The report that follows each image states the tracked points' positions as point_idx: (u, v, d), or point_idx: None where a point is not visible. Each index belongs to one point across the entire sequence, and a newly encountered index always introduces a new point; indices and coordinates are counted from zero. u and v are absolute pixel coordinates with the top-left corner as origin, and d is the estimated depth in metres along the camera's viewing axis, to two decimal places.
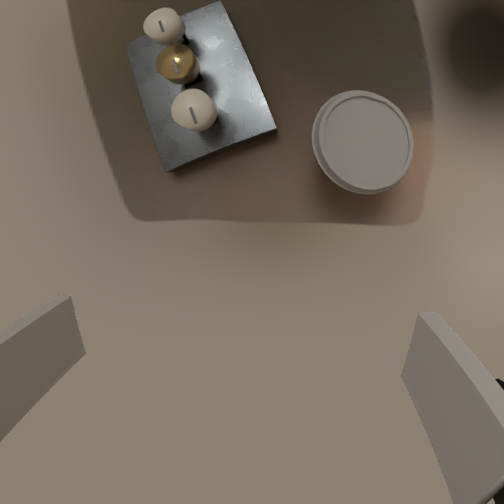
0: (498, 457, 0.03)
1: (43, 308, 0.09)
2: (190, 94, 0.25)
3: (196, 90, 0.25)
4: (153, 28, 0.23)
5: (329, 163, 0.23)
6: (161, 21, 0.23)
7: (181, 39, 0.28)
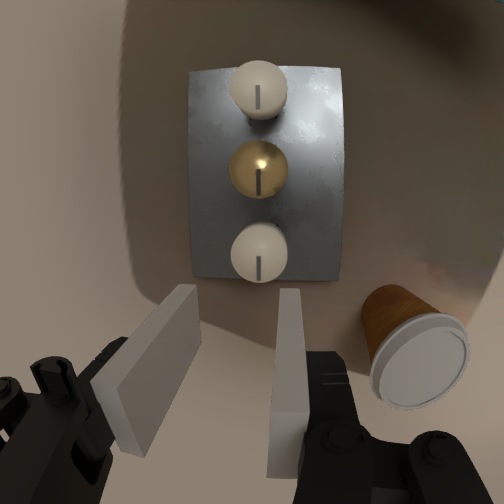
0: None
1: (174, 297, 0.10)
2: (265, 237, 0.20)
3: (275, 235, 0.20)
4: (244, 93, 0.18)
5: (381, 386, 0.19)
6: (259, 87, 0.18)
7: None
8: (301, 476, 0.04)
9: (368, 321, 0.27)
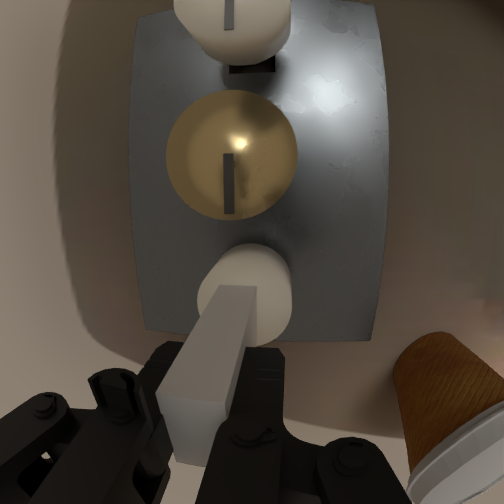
0: None
1: (220, 298, 0.10)
2: (253, 277, 0.12)
3: (271, 274, 0.12)
4: (203, 6, 0.07)
5: (422, 502, 0.09)
6: None
7: None
8: (207, 467, 0.04)
9: (407, 393, 0.16)
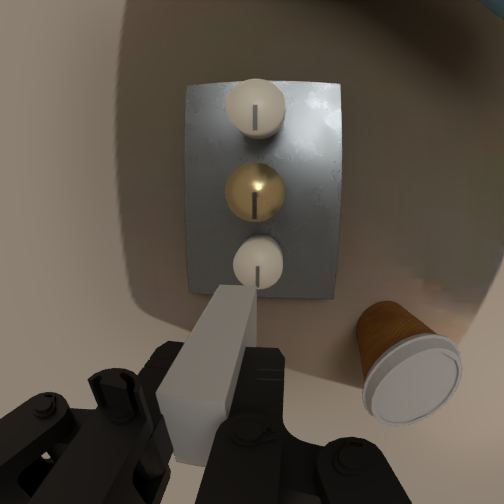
0: None
1: (220, 298, 0.10)
2: (263, 250, 0.23)
3: (272, 248, 0.23)
4: (241, 113, 0.18)
5: (373, 405, 0.19)
6: (257, 107, 0.18)
7: None
8: (206, 467, 0.04)
9: (362, 338, 0.27)
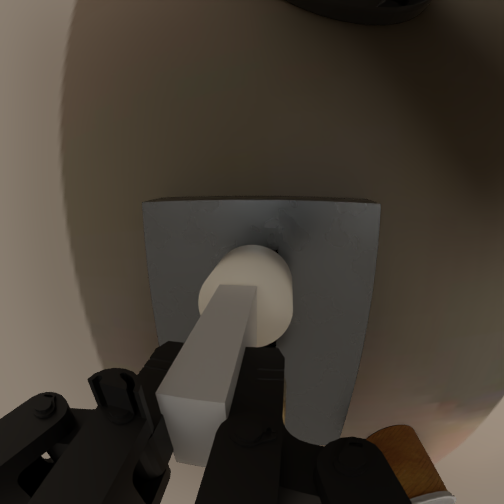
0: None
1: (220, 298, 0.10)
2: None
3: None
4: None
5: None
6: None
7: None
8: (207, 467, 0.04)
9: None
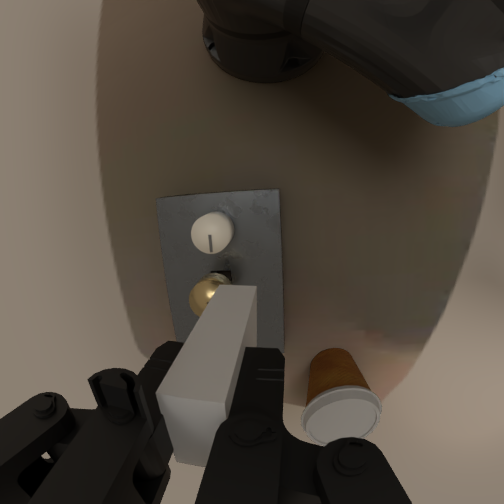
0: None
1: (220, 298, 0.10)
2: None
3: None
4: (201, 240, 0.30)
5: (307, 432, 0.28)
6: (211, 236, 0.29)
7: None
8: (207, 467, 0.04)
9: (309, 380, 0.35)
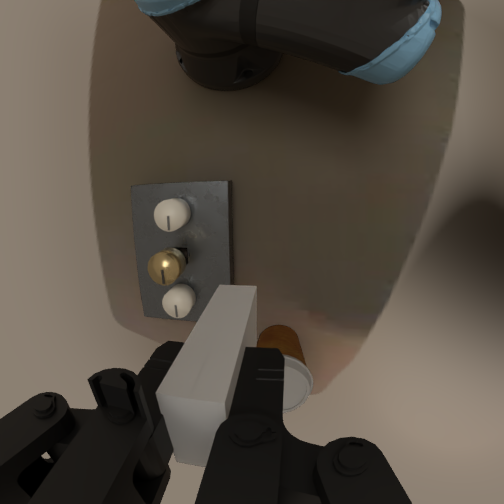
0: None
1: (220, 298, 0.10)
2: (177, 296, 0.38)
3: (182, 295, 0.38)
4: (162, 220, 0.36)
5: None
6: (169, 217, 0.35)
7: None
8: (206, 467, 0.04)
9: None
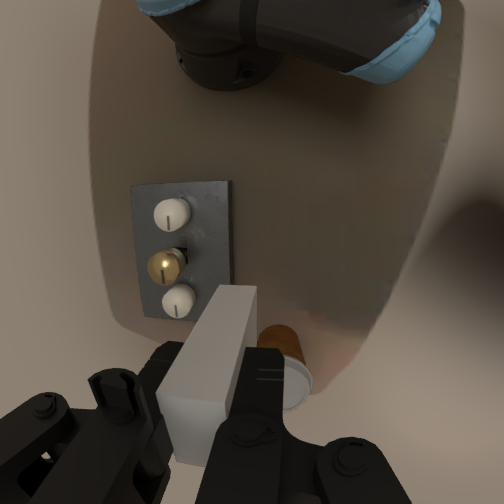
0: None
1: (220, 298, 0.10)
2: (177, 296, 0.38)
3: (182, 295, 0.38)
4: (161, 220, 0.36)
5: None
6: (169, 217, 0.35)
7: None
8: (206, 467, 0.04)
9: None
